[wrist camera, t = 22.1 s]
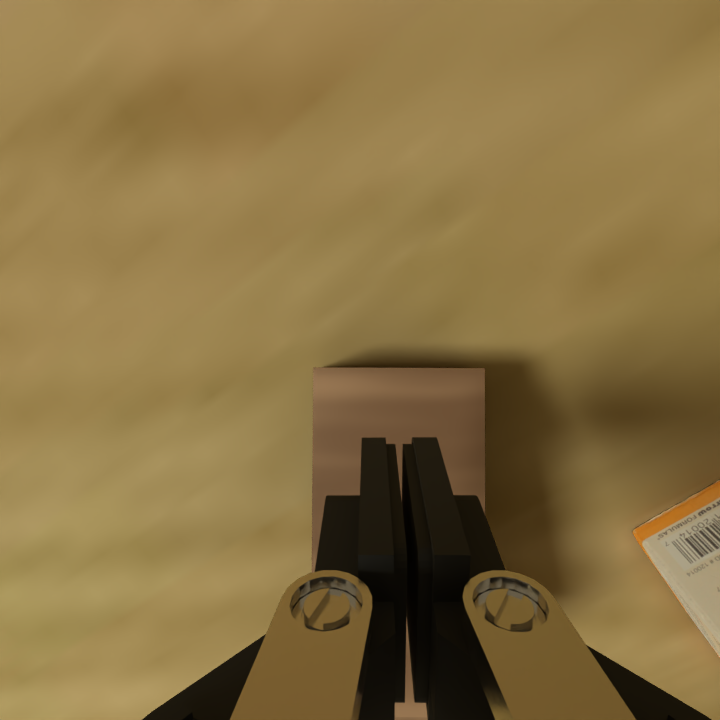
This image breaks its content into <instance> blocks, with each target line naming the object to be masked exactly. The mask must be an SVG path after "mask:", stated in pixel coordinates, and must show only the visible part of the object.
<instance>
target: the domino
mask: <svg viewBox="0 0 720 720" xmlns="http://www.w3.org/2000/svg"><path fill="white" fill-rule="evenodd" d="M372 437H386V444H395V445H396V454H397V464H398V473H399V482H400V491H401V501H402V447H403V444H411V442H412V437H437V439H438V443H439V446H440V450H441V453H442V457H443V460H444V464H445V467H446V471H447V474H448V477H449V481H450V484H451V488H452V491H453V495H476V496H478V498H479V500H480V503H481V506H482V508H483V511H484V514H485V368H324V367H313V484H312V573H313V572H315V566H316V559H317V552H318V545H319V539H320V532H321V525H322V518H323V511H324V505H325V499H326V496H327V495H360V475H361V443H362V438H372ZM395 717H427V709H426V703H415V702H414V694H413V683H412V672H411V660H410V649H409V638H408V627H407V617H406V674H405V703H395Z"/></svg>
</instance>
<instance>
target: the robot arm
mask: <svg viewBox="0 0 720 720" xmlns="http://www.w3.org/2000/svg"><path fill="white" fill-rule="evenodd" d="M406 617H407V627H408V638H409V649H410V660H411V672H412V683H413V694H414V702H415V703H426V709H427V718H428V720H711V719H710V718H708V717H707V716H705V715H704V714H702V713H700V712H699V711H697V710H695V709H694V708H692V707H690V706H688V705H687V704H685V703H683V702H682V701H680V700H678V699H677V698H675V697H673V696H672V695H670V694H668V693H666V692H665V691H663V690H661V689H660V688H658V687H656V686H655V685H653V684H651V683H650V682H648V681H646V680H644V679H643V678H641V677H639V676H638V675H636V674H634V673H633V672H631V671H629V670H628V669H626V668H624V667H622V666H621V665H619V664H617V663H616V662H614V661H612V660H611V659H609V658H607V657H606V656H604V655H602V654H601V653H599V652H597V651H595V650H594V649H592V648H590V647H589V646H587V645H586V644H585V643H584V641H583V640H582V638H581V637H580V635H579V634H578V632H577V631H576V629H575V628H574V626H573V625H572V623H571V622H570V620H569V619H568V617H567V616H566V614H565V613H564V611H563V610H562V608H561V607H560V605H559V604H558V602H557V601H556V599H555V598H554V597H553V596H552V594H551V593H550V592H549V591H548V590H547V589H546V588H545V587H544V586H543V585H541V584H540V583H538V582H537V581H535V580H534V579H532V578H529V577H527V576H525V575H522V574H520V573H515V572H511V571H506V570H505V568H504V565H503V563H502V560H501V557H500V554H499V552H498V549H497V546H496V544H495V541H494V538H493V536H492V533H491V530H490V527H489V525H488V522H487V519H486V517H485V514H484V511H483V508H482V506H481V503H480V500H479V498H478V496H476V495H453V491H452V488H451V484H450V481H449V477H448V474H447V471H446V467H445V464H444V460H443V457H442V453H441V450H440V446H439V443H438V439H437V437H412V442H411V444H403V447H402V501H401V491H400V482H399V473H398V464H397V454H396V445H395V444H386V437H372V438H362V443H361V475H360V495H327V496H326V499H325V505H324V511H323V518H322V525H321V532H320V539H319V545H318V552H317V559H316V566H315V572H313V573H309V574H307V575H305V576H303V577H301V578H299V579H297V580H296V581H295V582H293V583H292V584H291V585H290V586H289V587H288V588H287V590H286V591H285V593H284V594H283V596H282V598H281V600H280V602H279V605H278V607H277V609H276V612H275V614H274V617H273V619H272V621H271V624H270V626H269V628H268V631H267V633H266V634H265V635H264V636H262V637H261V638H260V639H258V640H257V641H255V642H254V643H252V644H251V645H249V646H248V647H246V648H245V649H243V650H242V651H240V652H239V653H238V654H236V655H235V656H233V657H232V658H230V659H229V660H227V661H226V662H224V663H223V664H221V665H220V666H218V667H217V668H215V669H214V670H213V671H211V672H210V673H208V674H207V675H205V676H204V677H202V678H201V679H199V680H198V681H196V682H195V683H193V684H192V685H190V686H189V687H188V688H186V689H185V690H183V691H182V692H180V693H179V694H177V695H176V696H174V697H173V698H171V699H170V700H168V701H167V702H166V703H164V704H163V705H161V706H160V707H158V708H157V709H155V710H154V711H152V712H151V713H150V714H148V715H147V716H146V717H145V718H144V719H143V720H395V703H405V674H406Z"/></svg>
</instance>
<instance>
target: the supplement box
mask: <svg viewBox="0 0 720 720" xmlns="http://www.w3.org/2000/svg"><path fill="white" fill-rule="evenodd" d="M633 534H634V536H635V538H636V540H637V541H638V543H639V544H640V546H641V548H642V549H643V551H644V552H645V553H646V554H647V556H648V558H649V559H650V561H651V562H652V563H653V565H654V566H655V567H656V569H657V570H658V572H659V573H660V575H661V576H662V577H663V579H664V580H665V582H666V583H667V585H668V586H669V588H670V589H671V591H672V592H673V593H674V595H675V597H676V598H677V600H678V601H679V602H680V604H681V605H682V607H683V608H684V609H685V611H686V612H687V613H688V615H689V616H690V618H691V619H692V620H693V622H694V623H695V624H696V626H697V627H698V628H699V630H700V631H701V632H702V634H703V635H704V636H705V638H706V639H707V640H708V642H709V643H710V645H711V646H712V647H713V649H714V650H715V652H716V653H717V655H718V656H719V658H720V480H718V481H717V482H716V483H714V484H712V485H711V486H709V487H707V488H705V489H703V490H702V491H700V492H699V493H696V494H694V495H692V496H691V497H689V498H687V499H686V500H685V501H683V502H681V503H679V504H676V505H675V506H673V507H672V508H670V509H668V510H667V511H663V512H662V513H661V514H660V515H657V516H655V517H654V518H652V519H651V520H649V521H647V522H646V523H644V524H642V525H640V526H639V527H637V528H635V529H634V530H633Z"/></svg>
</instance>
